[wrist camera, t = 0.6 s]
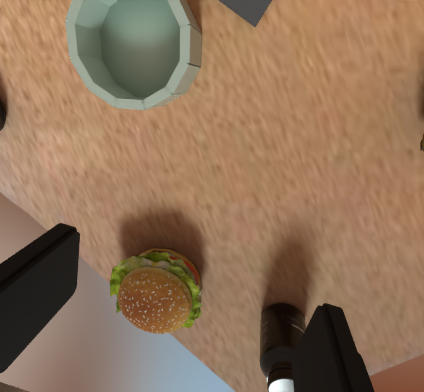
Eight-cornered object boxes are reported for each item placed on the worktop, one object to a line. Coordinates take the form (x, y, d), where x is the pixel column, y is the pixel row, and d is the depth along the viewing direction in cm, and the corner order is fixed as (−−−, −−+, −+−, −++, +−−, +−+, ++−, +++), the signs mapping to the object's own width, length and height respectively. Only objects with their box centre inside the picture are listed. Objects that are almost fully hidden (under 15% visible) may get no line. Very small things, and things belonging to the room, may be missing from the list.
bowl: (125, -43, 32) (96, -70, 26) (222, 28, 33) (215, 17, 27) (81, 66, 37) (49, 63, 31) (167, 125, 38) (151, 132, 32)
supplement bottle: (308, 305, 44) (324, 379, 33) (299, 338, 47) (311, 417, 36) (263, 297, 45) (264, 367, 34) (257, 330, 47) (256, 405, 36)
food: (209, 242, 43) (199, 275, 36) (205, 315, 48) (195, 357, 41) (122, 231, 45) (95, 260, 37) (127, 303, 50) (104, 340, 43)
